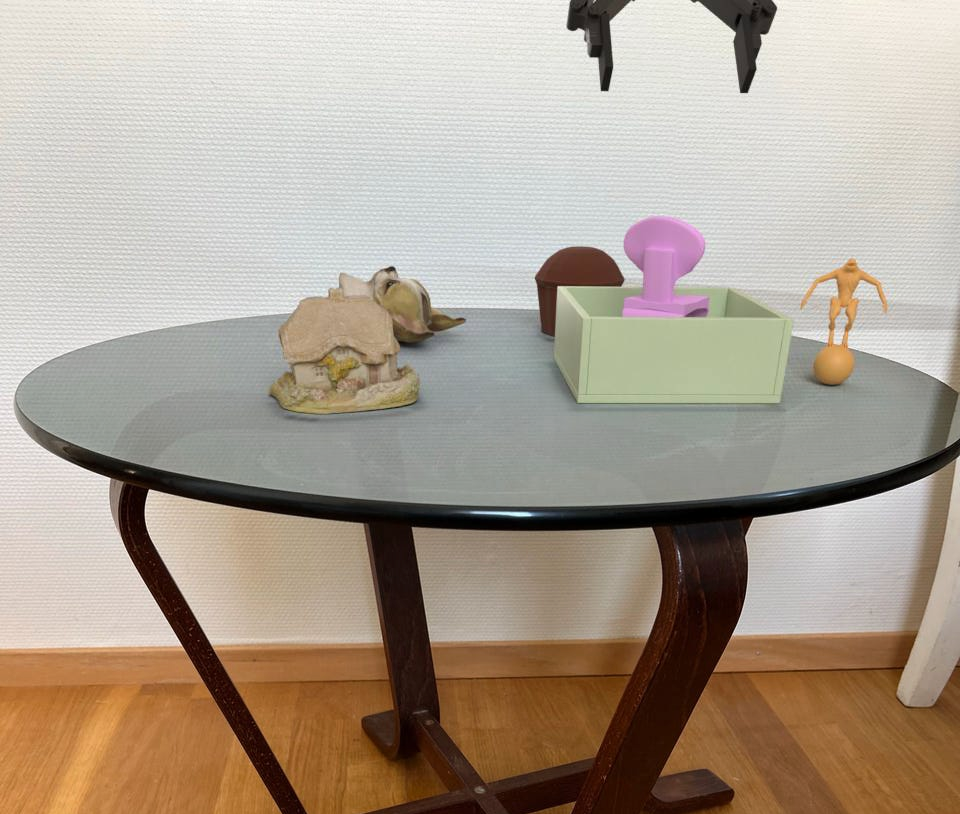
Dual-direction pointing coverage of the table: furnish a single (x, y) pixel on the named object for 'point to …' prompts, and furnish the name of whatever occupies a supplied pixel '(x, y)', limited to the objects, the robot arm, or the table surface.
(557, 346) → the bin
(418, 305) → the ceramic sculpture
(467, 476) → the table surface
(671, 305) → the toy chair
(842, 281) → the figurine
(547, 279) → the muffin
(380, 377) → the ceramic model
